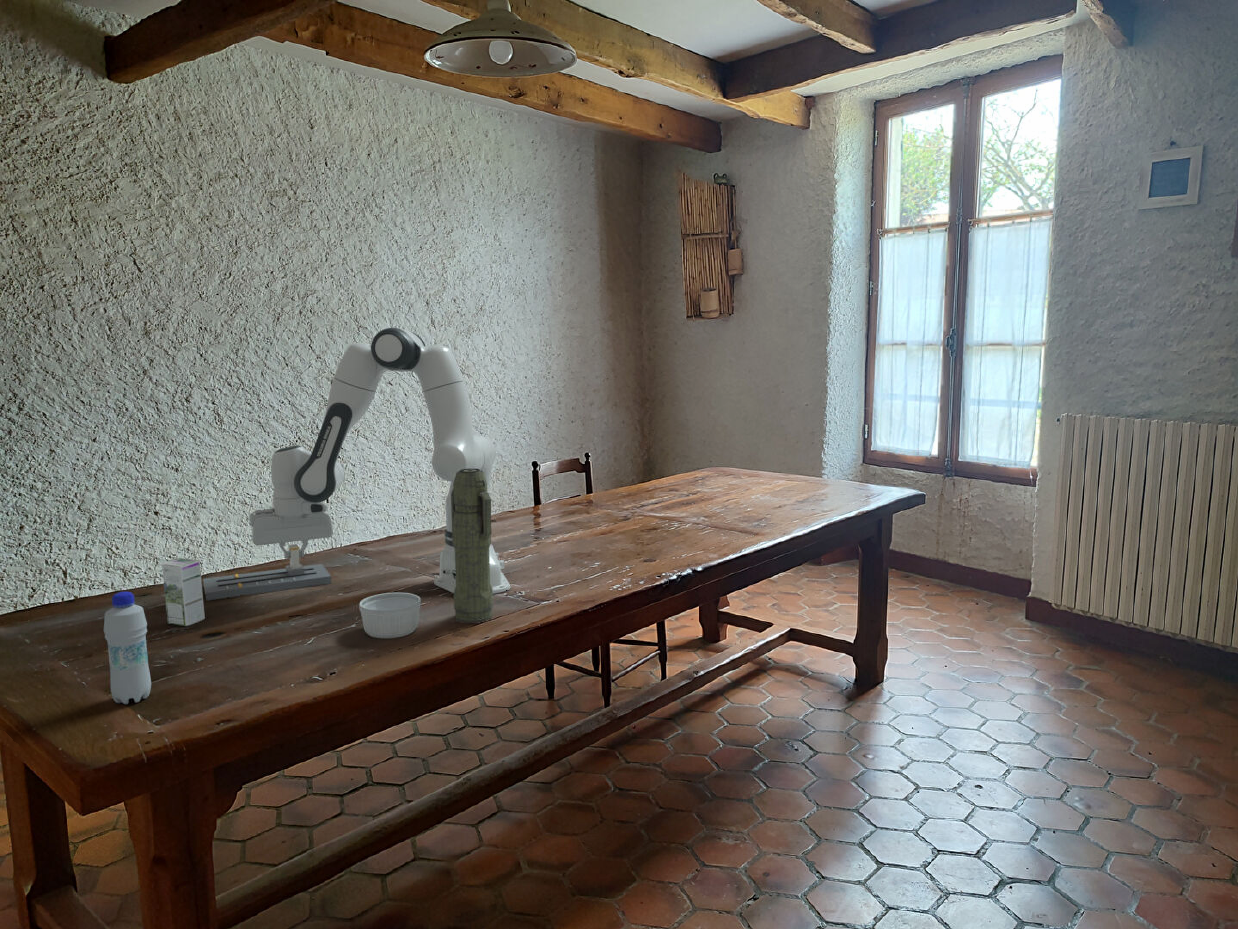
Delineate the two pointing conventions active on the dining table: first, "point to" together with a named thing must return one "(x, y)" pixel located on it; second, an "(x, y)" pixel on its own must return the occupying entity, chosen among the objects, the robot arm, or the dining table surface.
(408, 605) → the ramekin
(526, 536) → the dining table surface
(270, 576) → the console
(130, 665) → the bottle
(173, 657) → the dining table surface
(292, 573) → the fader
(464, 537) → the thermos
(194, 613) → the syrup box
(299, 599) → the dining table surface
